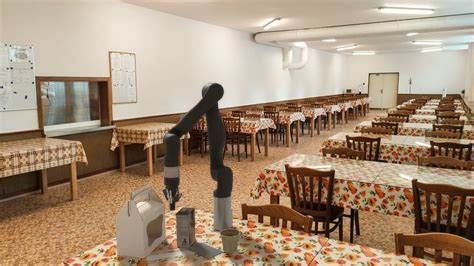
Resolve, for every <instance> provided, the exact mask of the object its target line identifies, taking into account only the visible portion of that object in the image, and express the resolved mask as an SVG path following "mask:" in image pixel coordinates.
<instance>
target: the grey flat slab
mask: <svg viewBox="0 0 474 266" xmlns="http://www.w3.org/2000/svg"><path fill="white" fill-rule="evenodd" d="M186 250H187V251H189V252H192V253H194V254H196V255H199V256H200V257H203V258H205V259H207V260H209V259H211V258H213V257H216V256H218V255H220V254H222V253H224V251H223V250H221V249H218V248H216V247H214V246H212V245H209V244H206V243H204V242H202V241H201V242H198V243H196V244H194V245H193V244H192V245H191V246H190V247H186Z"/></svg>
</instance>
